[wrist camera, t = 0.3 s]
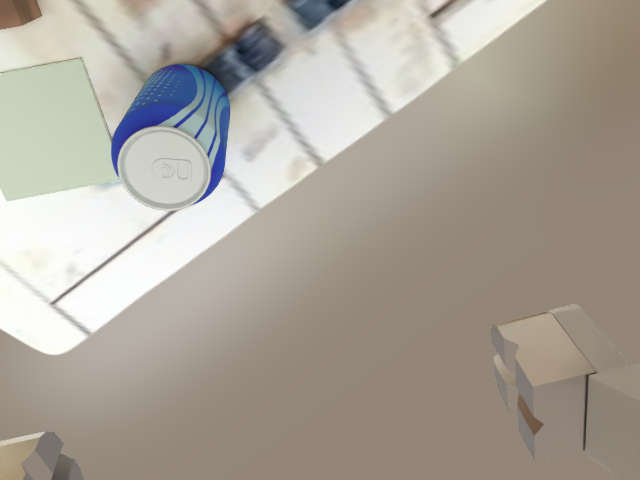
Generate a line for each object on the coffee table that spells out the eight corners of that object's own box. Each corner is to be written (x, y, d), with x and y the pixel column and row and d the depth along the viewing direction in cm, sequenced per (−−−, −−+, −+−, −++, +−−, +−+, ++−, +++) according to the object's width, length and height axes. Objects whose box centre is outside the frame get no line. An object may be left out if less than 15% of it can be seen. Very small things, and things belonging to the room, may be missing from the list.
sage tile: (-49, 81, 51) (-52, 83, 51) (81, 57, 51) (79, 59, 51) (9, 198, 57) (6, 201, 57) (125, 176, 57) (124, 179, 57)
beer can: (192, 162, 57) (173, 241, 44) (123, 105, 54) (79, 172, 40) (248, 104, 55) (247, 169, 41) (180, 41, 51) (154, 88, 38)
